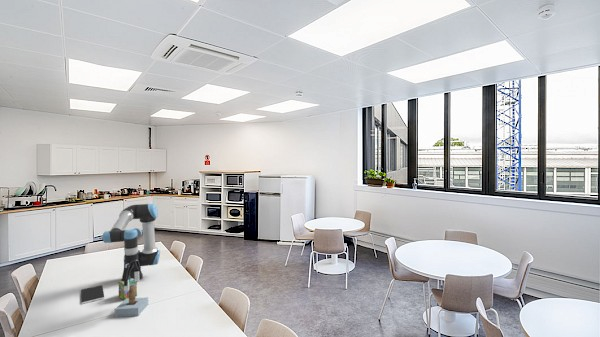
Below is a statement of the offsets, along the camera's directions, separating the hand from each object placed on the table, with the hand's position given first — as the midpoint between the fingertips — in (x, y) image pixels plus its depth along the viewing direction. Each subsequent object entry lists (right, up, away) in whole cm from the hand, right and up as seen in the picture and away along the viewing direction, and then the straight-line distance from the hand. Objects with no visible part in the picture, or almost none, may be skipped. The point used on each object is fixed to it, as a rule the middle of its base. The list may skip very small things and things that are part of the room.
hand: (132, 285), depth 184 cm
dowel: (0, -16, 0) cm, 16 cm away
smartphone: (-43, -17, +23) cm, 52 cm away
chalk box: (-15, -16, +20) cm, 29 cm away
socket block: (0, -16, 0) cm, 16 cm away
